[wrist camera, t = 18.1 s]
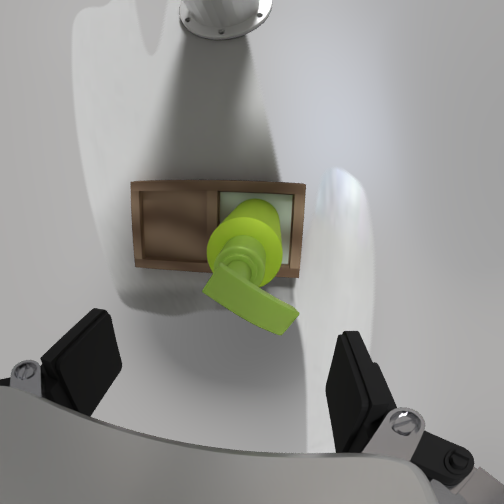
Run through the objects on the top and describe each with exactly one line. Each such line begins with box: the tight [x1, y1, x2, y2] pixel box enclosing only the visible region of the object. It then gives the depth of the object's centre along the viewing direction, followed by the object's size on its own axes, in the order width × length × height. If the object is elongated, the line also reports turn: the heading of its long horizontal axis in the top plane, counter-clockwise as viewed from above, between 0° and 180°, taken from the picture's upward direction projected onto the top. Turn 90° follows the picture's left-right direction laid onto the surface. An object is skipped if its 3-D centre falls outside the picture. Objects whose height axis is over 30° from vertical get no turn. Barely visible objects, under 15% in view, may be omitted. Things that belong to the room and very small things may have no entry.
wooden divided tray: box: [131, 180, 306, 278], centre depth 33 cm, size 11×22×5 cm, turn 88°
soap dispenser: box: [202, 199, 299, 335], centre depth 25 cm, size 6×7×20 cm
